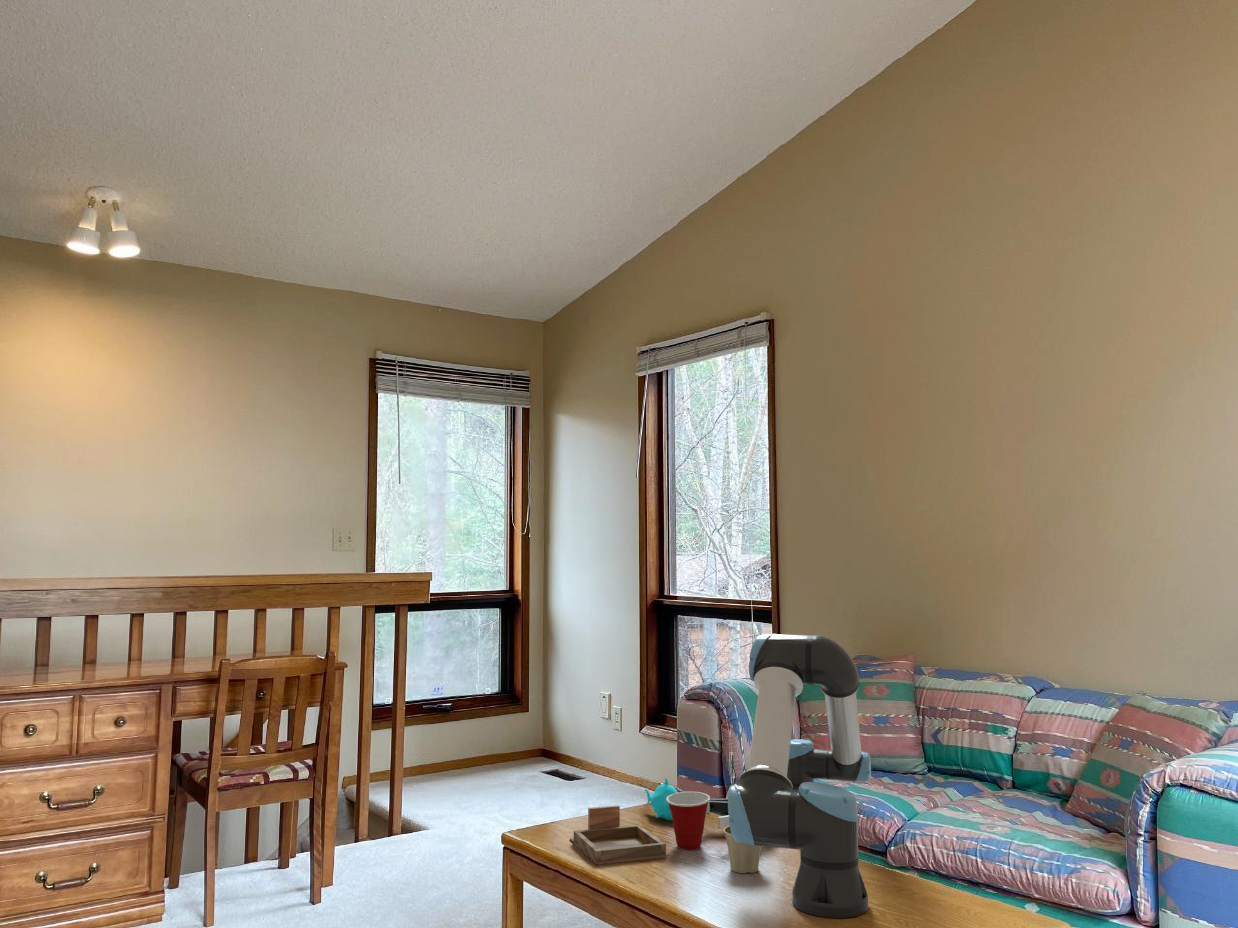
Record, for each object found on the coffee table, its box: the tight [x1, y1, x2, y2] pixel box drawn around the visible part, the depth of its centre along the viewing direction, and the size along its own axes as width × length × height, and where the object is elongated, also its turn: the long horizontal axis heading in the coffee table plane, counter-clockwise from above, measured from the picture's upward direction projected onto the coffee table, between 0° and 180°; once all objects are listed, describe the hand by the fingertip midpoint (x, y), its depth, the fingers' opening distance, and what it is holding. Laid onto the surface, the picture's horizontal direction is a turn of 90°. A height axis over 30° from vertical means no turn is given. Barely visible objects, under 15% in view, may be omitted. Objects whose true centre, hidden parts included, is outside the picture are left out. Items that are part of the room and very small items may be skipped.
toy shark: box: [644, 777, 679, 822], centre depth 261 cm, size 10×18×11 cm, turn 37°
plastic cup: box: [666, 791, 711, 851], centre depth 235 cm, size 11×11×12 cm
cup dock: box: [569, 805, 667, 865], centre depth 234 cm, size 21×17×8 cm
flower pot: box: [722, 826, 762, 874], centre depth 218 cm, size 9×9×9 cm
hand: (702, 816), depth 238 cm, fingers open, 13 cm apart
